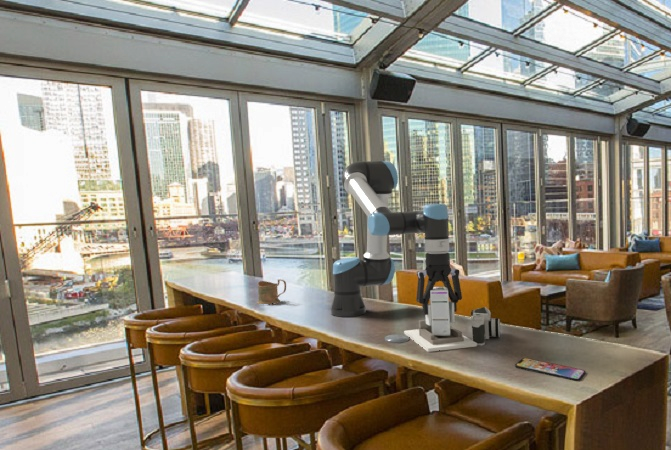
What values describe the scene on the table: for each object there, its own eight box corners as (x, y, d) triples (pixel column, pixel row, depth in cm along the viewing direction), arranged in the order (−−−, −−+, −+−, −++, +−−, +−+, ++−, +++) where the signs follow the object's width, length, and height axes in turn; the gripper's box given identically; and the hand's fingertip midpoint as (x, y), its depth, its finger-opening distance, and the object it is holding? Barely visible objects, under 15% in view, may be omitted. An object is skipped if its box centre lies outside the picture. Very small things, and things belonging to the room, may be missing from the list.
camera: (499, 347, 122) (498, 314, 122) (469, 345, 125) (468, 313, 125) (500, 332, 137) (499, 303, 137) (473, 330, 140) (472, 302, 140)
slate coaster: (381, 338, 138) (381, 335, 138) (403, 335, 139) (403, 333, 139) (389, 345, 130) (389, 342, 130) (412, 342, 132) (412, 340, 132)
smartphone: (579, 380, 96) (513, 365, 106) (579, 383, 96) (514, 368, 106) (586, 370, 101) (523, 357, 111) (586, 374, 101) (523, 360, 111)
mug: (278, 306, 194) (277, 281, 193) (252, 303, 203) (250, 280, 203) (293, 301, 203) (292, 278, 203) (267, 299, 213) (266, 276, 213)
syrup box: (450, 335, 127) (449, 289, 127) (431, 335, 128) (430, 289, 128) (449, 330, 132) (448, 286, 132) (430, 330, 134) (429, 286, 133)
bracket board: (404, 333, 141) (403, 316, 140) (447, 329, 144) (446, 312, 143) (428, 351, 121) (427, 331, 121) (477, 346, 124) (476, 326, 124)
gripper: (411, 255, 124) (415, 329, 125) (472, 251, 128) (475, 323, 128) (403, 253, 131) (406, 323, 132) (460, 249, 135) (463, 317, 136)
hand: (440, 323), depth 130 cm, fingers closed on syrup box, 7 cm apart
